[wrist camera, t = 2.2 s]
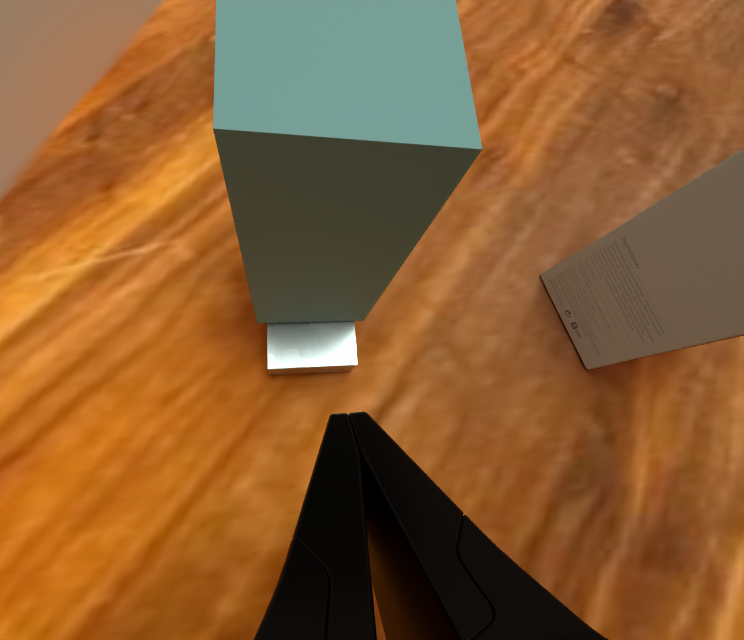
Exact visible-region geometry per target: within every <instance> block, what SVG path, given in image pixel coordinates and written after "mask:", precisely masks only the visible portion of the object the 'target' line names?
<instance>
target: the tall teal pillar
mask: <svg viewBox="0 0 744 640" xmlns="http://www.w3.org/2000/svg"><path fill="white" fill-rule="evenodd" d="M213 130H214V134H215V139H216V143H217V148H218V152H219V156H220V161H221V165H222V170H223V174H224V179H225V183H226V188H227V192H228V196H229V201H230V205H231V210H232V214H233V219H234V223H235V227H236V232H237V236H238V241H239V245H240V250H241V254H242V259H243V263H244V267H245V272H246V276H247V281H248V285H249V290H250V294H251V299H252V303H253V307H254V312H255V316H256V321H257V323H286V322H328V321H364V319H365V318H366V316H367V315H368V313H369V312H370V311H371V309H372V308H373V306H374V305H375V303H376V302H377V300H378V299H379V298H380V296H381V295H382V293H383V292H384V290H385V289H386V287H387V286H388V285H389V283H390V282H391V280H392V279H393V277H394V276H395V274H396V273H397V272H398V270H399V269H400V267H401V266H402V264H403V263H404V261H405V260H406V259H407V257H408V256H409V254H410V253H411V251H412V250H413V248H414V247H415V246H416V244H417V243H418V241H419V240H420V238H421V237H422V235H423V234H424V233H425V231H426V230H427V228H428V227H429V225H430V224H431V222H432V221H433V220H434V218H435V217H436V215H437V214H438V212H439V211H440V209H441V208H442V207H443V205H444V204H445V202H446V201H447V199H448V198H449V196H450V195H451V194H452V192H453V191H454V189H455V188H456V186H457V185H458V183H459V182H460V181H461V179H462V178H463V176H464V175H465V173H466V172H467V170H468V169H469V168H470V166H471V165H472V163H473V162H474V160H475V159H476V157H477V156H478V155H479V153H480V152H481V150H482V145H481V140H480V134H479V129H478V123H477V117H476V112H475V106H474V101H473V95H472V90H471V84H470V78H469V73H468V67H467V62H466V56H465V50H464V45H463V39H462V34H461V28H460V23H459V17H458V11H457V6H456V0H216V34H215V75H214V115H213Z"/></svg>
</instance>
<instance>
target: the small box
mask: <svg viewBox="0 0 744 640" xmlns="http://www.w3.org/2000/svg"><path fill="white" fill-rule="evenodd" d="M541 278H542V280H543V282H544V284H545V286H546V289H547V291H548V293H549V295H550V297H551V299H552V301H553V303H554V305H555V307H556V309H557V311H558V313H559V315H560V317H561V319H562V321H563V323H564V325H565V327H566V329H567V331H568V333H569V335H570V337H571V339H572V341H573V343H574V345H575V347H576V349H577V351H578V353H579V355H580V357H581V359H582V361H583V363H584V365H585V367H586V368H587V369H588V370H590V369H595V368H600V367H604V366H609V365H613V364H618V363H622V362H627V361H631V360H635V359H639V358H643V357H647V356H652V355H656V354H661V353H666V352H670V351H675V350H680V349H684V348H689V347H694V346H698V345H703V344H708V343H712V342H716V341H721V340H726V339H730V338H735V337H739V336H744V149H742V150H741V151H739V152H737V153H736V154H734V155H733V156H731V157H729V158H728V159H726V160H725V161H723V162H721V163H720V164H718V165H716V166H715V167H713V168H712V169H710V170H708V171H707V172H705V173H704V174H702V175H700V176H699V177H697V178H696V179H694V180H692V181H691V182H689V183H688V184H686V185H684V186H683V187H681V188H679V189H678V190H676V191H675V192H673V193H671V194H670V195H668V196H667V197H665V198H663V199H662V200H660V201H659V202H657V203H655V204H654V205H652V206H651V207H649V208H647V209H646V210H644V211H643V212H641V213H639V214H638V215H636V216H635V217H633V218H632V219H630V220H629V221H627V222H625V223H624V224H622V225H621V226H619V227H618V228H616V229H614V230H613V231H611V232H610V233H608V234H606V235H605V236H603V237H602V238H600V239H598V240H597V241H595V242H594V243H592V244H590V245H589V246H587V247H585V248H584V249H582V250H580V251H579V252H577V253H575V254H574V255H572V256H570V257H568V258H567V259H565V260H564V261H562V262H560V263H559V264H557V265H555V266H554V267H552V268H551V269H549V270H547V271H545V272H544V273H542V274H541Z"/></svg>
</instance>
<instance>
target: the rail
mask: <svg viewBox="0 0 744 640" xmlns="http://www.w3.org/2000/svg"><path fill="white" fill-rule="evenodd" d="M267 357H268V373H269V375H288V374H307V373H326V372H346V371H351V370H352V369H353V368H354V367H355V366H356V365H357V352H356V338H355V325H354V321H328V322H286V323H267Z"/></svg>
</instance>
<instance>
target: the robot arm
mask: <svg viewBox="0 0 744 640" xmlns="http://www.w3.org/2000/svg"><path fill="white" fill-rule="evenodd" d="M371 580H372V581H371ZM372 584H373V588H374V592H375V596H376V600H377V604H378V608H379V612H380V616H381V620H382V624H383V628H384V632H385V636H386V640H608V639H607V638H605V637H603V636H602V635H601V634H599V633H598V632H596V631H595V630H594V629H592V628H591V627H590V626H588V625H587V624H586V623H585V622H583V621H582V620H581V619H580V618H579V617H577V616H576V615H575V614H574V613H573V612H572V611H570V610H569V609H568V608H567V607H566V606H565V605H564V604H562V603H561V602H560V601H559V600H558V599H557V598H555V597H554V596H553V595H552V594H551V593H550V592H548V591H547V590H546V589H545V588H544V587H543V586H541V585H540V584H539V583H538V582H537V581H536V580H534V579H533V578H532V577H531V576H530V575H529V574H527V573H526V572H525V571H524V570H523V569H522V568H520V567H519V566H518V565H517V564H516V563H515V562H514V561H513V560H512V559H510V558H509V557H508V556H507V555H506V554H505V553H504V552H503V551H502V550H500V549H499V548H498V547H497V546H496V545H495V544H494V543H493V542H492V541H491V540H490V539H489V538H488V537H487V536H486V535H485V534H484V533H483V532H482V531H481V530H480V529H479V528H478V527H477V526H476V525H475V524H474V523H473V522H472V521H471V520H470V519H469V518H468V517H467V516H466V515H464V516H463V512H462V511H461V510H460V509H459V508H458V507H457V506H456V504H455V503H454V502H453V501H452V500H451V499H450V498H449V497H448V496H447V495H446V494H445V493H444V492H443V491H442V490H441V489H440V488H439V487H438V486H437V485H436V484H435V483H434V482H433V481H432V480H431V479H430V478H429V477H428V476H427V474H426V473H425V472H424V471H423V470H422V469H421V468H420V467H419V466H418V465H417V464H416V463H415V462H414V461H413V460H412V459H411V458H410V457H409V456H408V455H407V454H406V453H405V452H404V451H403V450H402V449H401V448H400V447H399V446H398V444H397V443H396V442H395V441H394V440H393V439H392V438H391V437H390V436H389V435H388V434H387V433H386V432H385V431H384V430H383V429H382V428H381V427H380V426H379V425H378V424H377V423H376V422H375V421H374V420H373V419H372V418H371V417H370V415H369V414H367V413H366V412H354V413H350V414H349V415H348V414H346V413H340V414H331V415H330V417H329V420H328V423H327V426H326V430H325V433H324V436H323V439H322V443H321V446H320V449H319V453H318V456H317V459H316V462H315V466H314V469H313V472H312V476H311V479H310V482H309V485H308V489H307V492H306V495H305V499H304V502H303V505H302V508H301V512H300V515H299V518H298V522H297V525H296V528H295V531H294V535H293V540H292V541H291V544H290V547H289V550H288V554H287V557H286V560H285V563H284V566H283V569H282V572H281V574H280V577H279V580H278V583H277V586H276V588H275V591H274V593H273V596H272V598H271V601H270V603H269V605H268V608H267V610H266V613H265V615H264V618H263V620H262V622H261V624H260V627H259V629H258V631H257V633H256V635H255V638H254V640H377V636H376V625H375V614H374V603H373V592H372Z"/></svg>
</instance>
